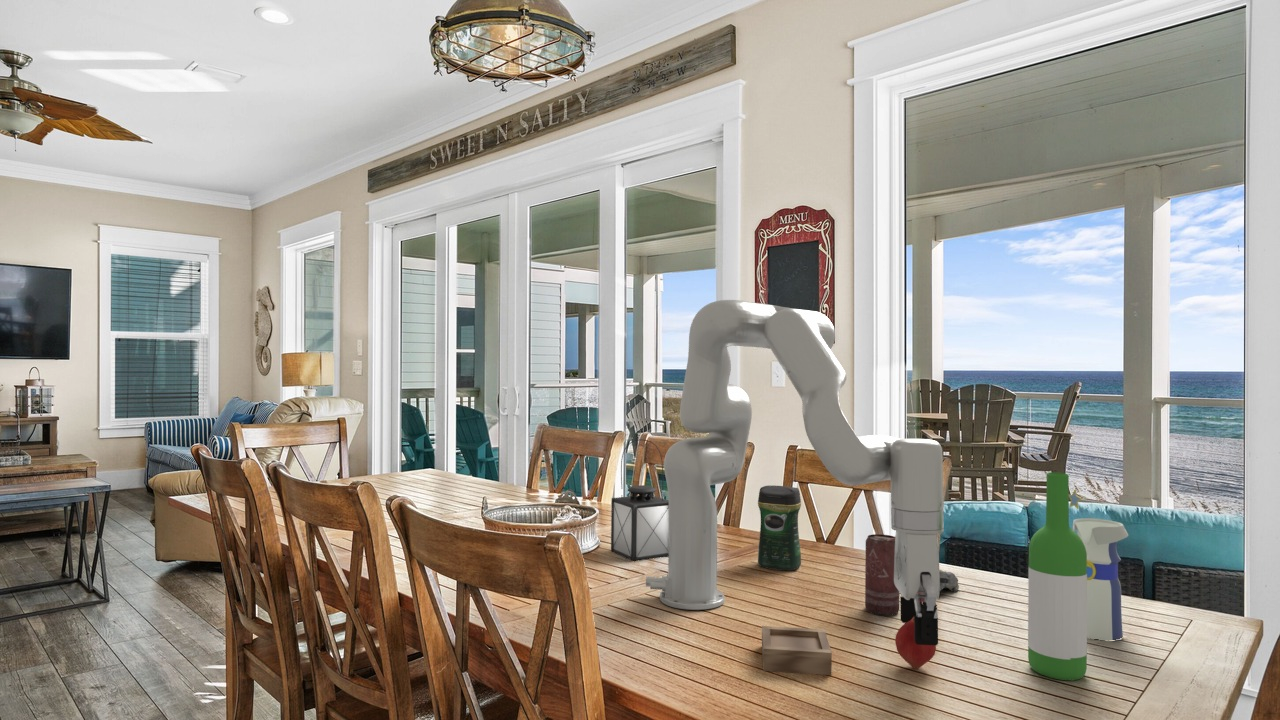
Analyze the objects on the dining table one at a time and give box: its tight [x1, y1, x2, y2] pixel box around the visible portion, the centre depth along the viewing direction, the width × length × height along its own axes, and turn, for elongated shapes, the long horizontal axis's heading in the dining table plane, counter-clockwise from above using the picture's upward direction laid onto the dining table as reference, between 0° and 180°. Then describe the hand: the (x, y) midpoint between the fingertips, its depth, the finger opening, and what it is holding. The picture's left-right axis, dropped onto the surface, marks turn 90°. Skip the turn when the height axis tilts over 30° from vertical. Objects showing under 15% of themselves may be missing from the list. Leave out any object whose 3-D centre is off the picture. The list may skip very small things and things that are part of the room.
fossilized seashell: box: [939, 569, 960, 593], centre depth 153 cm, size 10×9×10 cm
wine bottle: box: [1027, 471, 1088, 681], centre depth 112 cm, size 8×8×30 cm
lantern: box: [610, 439, 669, 562], centre depth 182 cm, size 11×11×28 cm
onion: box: [894, 617, 937, 669], centre depth 113 cm, size 6×6×8 cm
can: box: [864, 533, 900, 617], centre depth 140 cm, size 6×6×14 cm
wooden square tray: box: [761, 625, 833, 676], centre depth 116 cm, size 10×10×3 cm
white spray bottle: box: [1069, 489, 1129, 641], centre depth 129 cm, size 8×9×25 cm
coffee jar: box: [757, 485, 802, 571], centre depth 171 cm, size 10×8×19 cm
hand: (918, 633), depth 113 cm, fingers open, 9 cm apart
